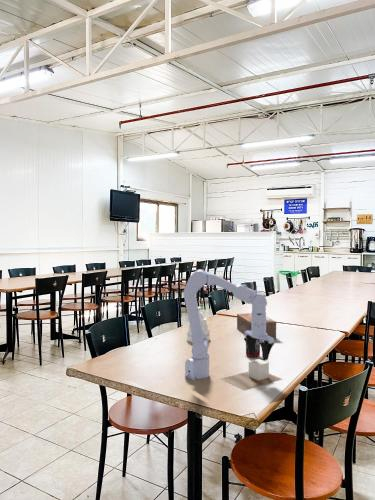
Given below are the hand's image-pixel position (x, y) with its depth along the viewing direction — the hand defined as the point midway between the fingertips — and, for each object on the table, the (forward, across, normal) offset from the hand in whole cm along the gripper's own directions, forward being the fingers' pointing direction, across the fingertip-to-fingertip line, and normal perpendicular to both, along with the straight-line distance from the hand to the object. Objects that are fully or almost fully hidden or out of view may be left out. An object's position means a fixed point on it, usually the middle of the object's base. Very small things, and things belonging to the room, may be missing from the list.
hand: (258, 357), depth 156 cm
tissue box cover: (+10, +55, -50) cm, 75 cm away
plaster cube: (+8, 0, 0) cm, 8 cm away
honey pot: (+10, +64, -15) cm, 66 cm away
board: (+9, 0, +4) cm, 10 cm away
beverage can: (+10, +25, -20) cm, 33 cm away
